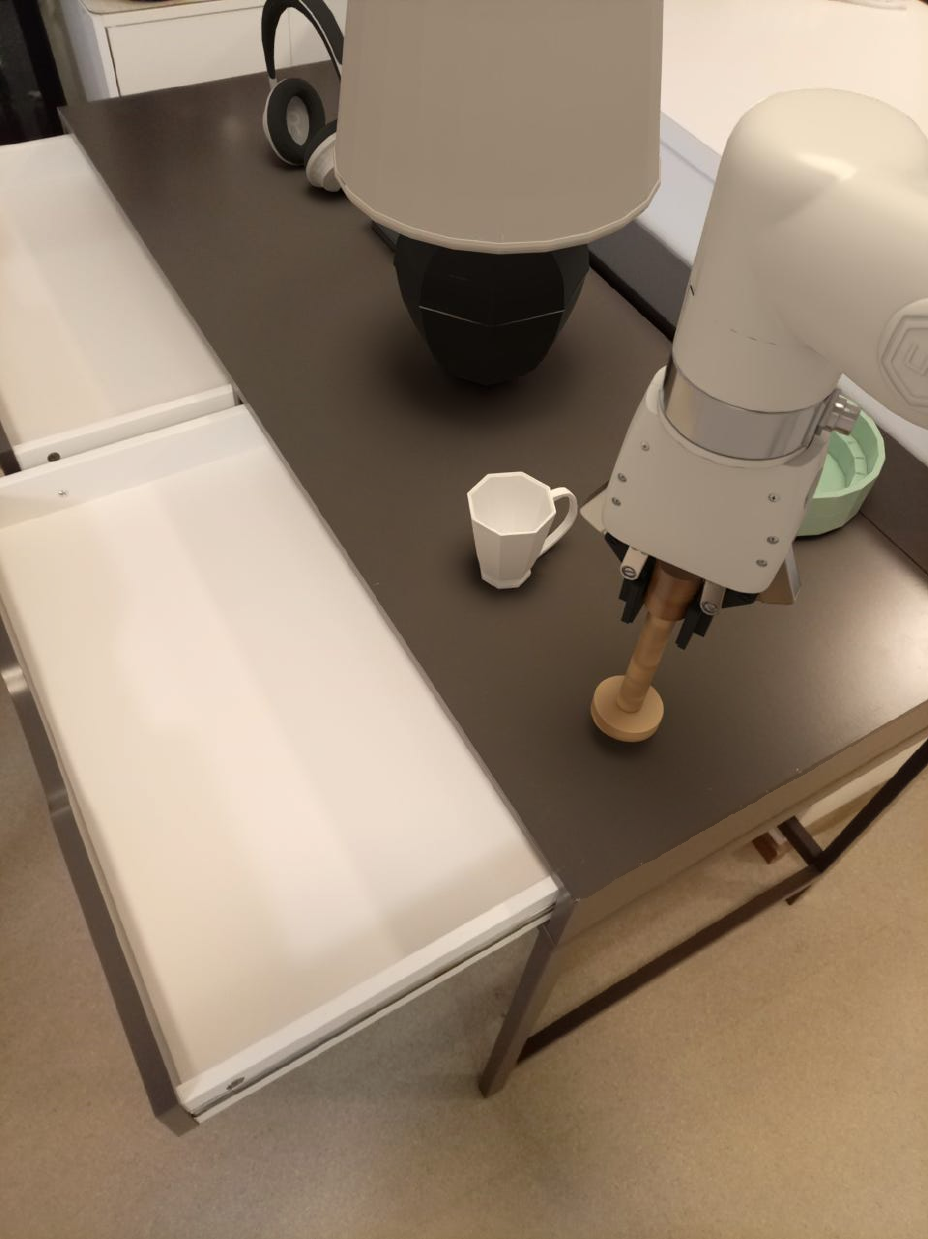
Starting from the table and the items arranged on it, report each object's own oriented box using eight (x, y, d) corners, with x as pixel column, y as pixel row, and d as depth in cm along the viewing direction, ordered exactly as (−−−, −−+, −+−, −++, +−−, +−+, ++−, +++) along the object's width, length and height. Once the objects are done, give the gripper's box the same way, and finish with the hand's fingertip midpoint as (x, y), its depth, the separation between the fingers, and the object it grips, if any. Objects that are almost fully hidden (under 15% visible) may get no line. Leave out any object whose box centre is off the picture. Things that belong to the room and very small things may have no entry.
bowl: (879, 460, 84) (903, 414, 79) (833, 567, 76) (858, 523, 71) (725, 403, 88) (741, 357, 83) (667, 499, 80) (680, 454, 75)
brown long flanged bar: (670, 706, 64) (736, 556, 53) (642, 754, 61) (706, 606, 50) (608, 674, 66) (660, 522, 55) (578, 719, 63) (626, 568, 52)
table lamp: (485, 260, 101) (508, -212, 69) (673, 372, 90) (805, -127, 58) (296, 361, 90) (219, -148, 58) (486, 504, 79) (521, -27, 47)
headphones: (252, 153, 114) (222, -31, 98) (308, 134, 117) (288, -46, 101) (334, 219, 106) (316, 29, 89) (392, 197, 109) (385, 10, 93)
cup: (447, 556, 75) (448, 488, 69) (546, 514, 78) (556, 446, 72) (490, 614, 72) (495, 549, 65) (592, 568, 75) (607, 502, 68)
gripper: (936, 407, 42) (803, 633, 56) (617, 295, 46) (571, 531, 61) (897, 508, 38) (765, 722, 53) (552, 374, 42) (520, 607, 57)
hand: (661, 618), depth 57 cm, fingers closed on brown long flanged bar, 3 cm apart
